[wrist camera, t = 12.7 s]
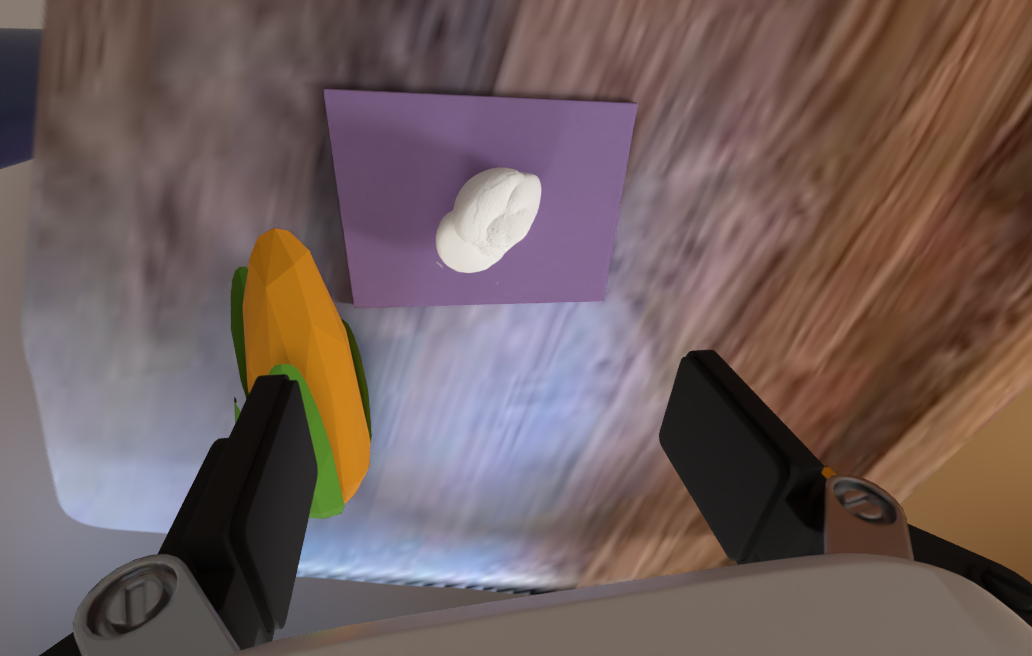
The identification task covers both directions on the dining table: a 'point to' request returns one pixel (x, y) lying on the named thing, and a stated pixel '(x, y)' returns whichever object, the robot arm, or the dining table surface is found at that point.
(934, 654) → the robot arm
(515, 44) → the dining table surface
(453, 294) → the cloth
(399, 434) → the dining table surface
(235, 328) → the corn
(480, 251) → the dumpling
